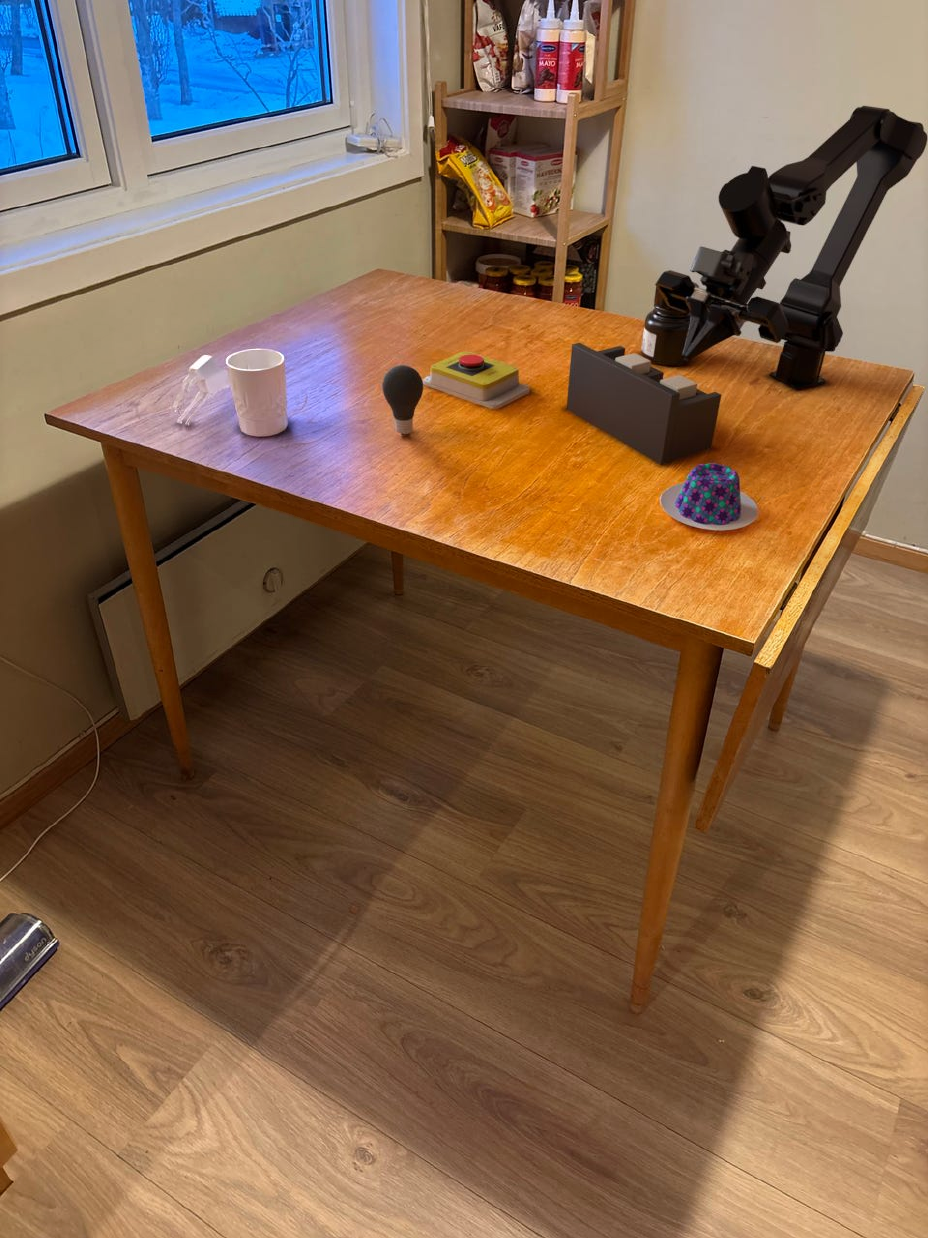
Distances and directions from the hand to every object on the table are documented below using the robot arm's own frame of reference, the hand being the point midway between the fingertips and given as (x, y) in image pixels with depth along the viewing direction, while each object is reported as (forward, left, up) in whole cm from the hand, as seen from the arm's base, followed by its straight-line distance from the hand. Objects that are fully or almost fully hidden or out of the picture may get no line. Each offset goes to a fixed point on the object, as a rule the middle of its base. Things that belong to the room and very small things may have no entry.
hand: (685, 358), depth 125 cm
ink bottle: (-18, -24, -12) cm, 32 cm away
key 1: (+1, -9, -5) cm, 11 cm away
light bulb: (+34, -17, -12) cm, 40 cm away
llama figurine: (+55, -39, -12) cm, 68 cm away
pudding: (+9, +19, -12) cm, 24 cm away
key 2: (+1, 0, -5) cm, 5 cm away
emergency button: (+17, -27, -12) cm, 34 cm away
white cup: (+51, -28, -12) cm, 60 cm away
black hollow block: (+3, -4, -11) cm, 12 cm away
